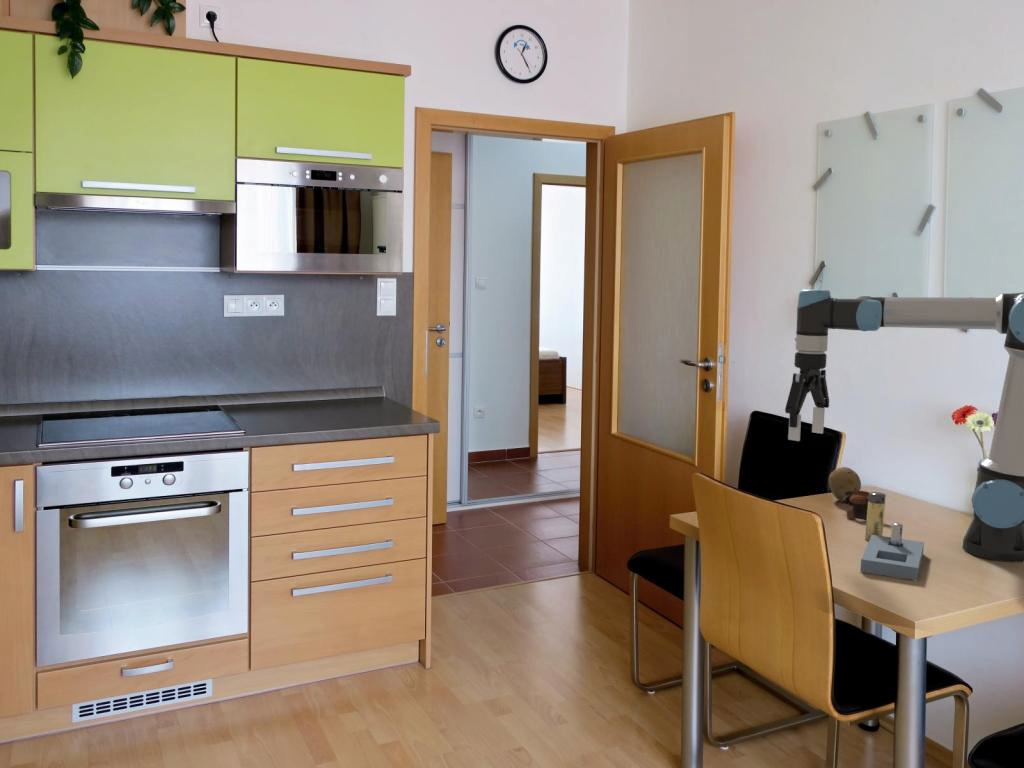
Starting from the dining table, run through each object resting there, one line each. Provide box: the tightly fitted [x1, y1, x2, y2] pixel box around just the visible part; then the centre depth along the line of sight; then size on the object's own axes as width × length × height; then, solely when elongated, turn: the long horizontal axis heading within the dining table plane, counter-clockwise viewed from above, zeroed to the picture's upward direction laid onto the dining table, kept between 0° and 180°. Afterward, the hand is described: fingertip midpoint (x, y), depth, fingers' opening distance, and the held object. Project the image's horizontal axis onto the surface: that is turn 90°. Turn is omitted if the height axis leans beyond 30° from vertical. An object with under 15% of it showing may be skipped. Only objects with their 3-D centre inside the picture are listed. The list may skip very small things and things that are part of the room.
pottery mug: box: [840, 490, 869, 521], centre depth 273 cm, size 12×10×8 cm
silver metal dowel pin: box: [890, 522, 904, 547], centre depth 238 cm, size 2×2×8 cm
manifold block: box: [859, 535, 925, 581], centre depth 233 cm, size 12×22×3 cm, turn 155°
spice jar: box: [864, 491, 887, 542], centre depth 250 cm, size 4×4×12 cm
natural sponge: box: [828, 466, 862, 502], centre depth 289 cm, size 9×9×10 cm
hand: (805, 436), depth 249 cm, fingers open, 13 cm apart
